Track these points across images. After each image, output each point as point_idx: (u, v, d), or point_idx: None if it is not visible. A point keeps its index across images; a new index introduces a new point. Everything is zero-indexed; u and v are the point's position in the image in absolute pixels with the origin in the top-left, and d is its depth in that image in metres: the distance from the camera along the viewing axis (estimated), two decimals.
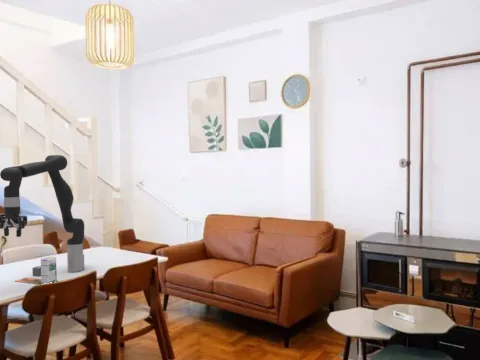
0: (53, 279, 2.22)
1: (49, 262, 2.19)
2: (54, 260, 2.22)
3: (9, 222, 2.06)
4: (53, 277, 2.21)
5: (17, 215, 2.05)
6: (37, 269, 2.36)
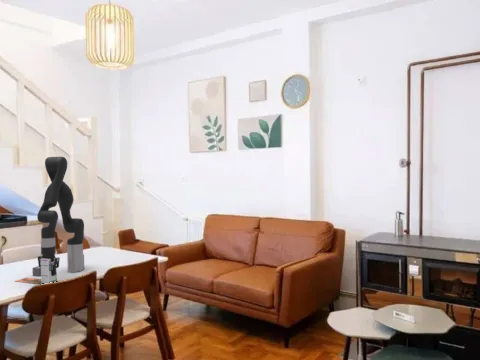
0: (53, 279, 2.22)
1: (49, 262, 2.19)
2: None
3: None
4: (53, 277, 2.21)
5: (53, 254, 2.21)
6: (37, 269, 2.36)
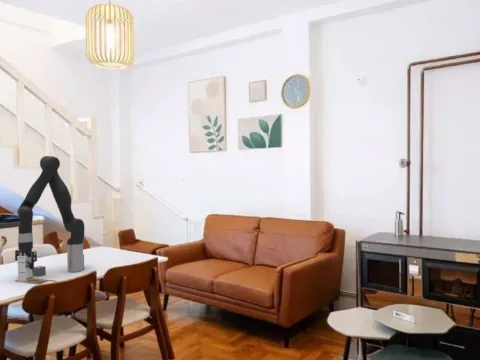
0: (30, 276, 2.27)
1: (25, 259, 2.25)
2: None
3: None
4: (29, 274, 2.27)
5: (30, 249, 2.26)
6: (37, 269, 2.36)
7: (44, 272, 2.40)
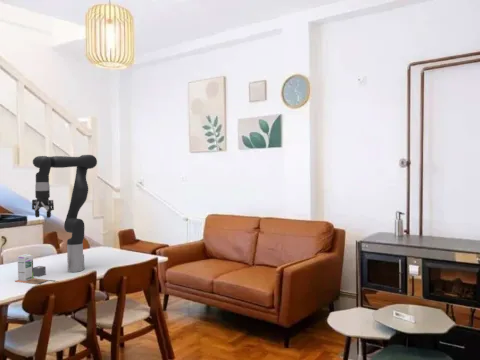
0: (30, 276, 2.27)
1: (25, 259, 2.25)
2: (31, 257, 2.28)
3: (40, 204, 2.31)
4: (29, 274, 2.27)
5: (47, 198, 2.30)
6: (37, 269, 2.36)
7: (44, 272, 2.40)
